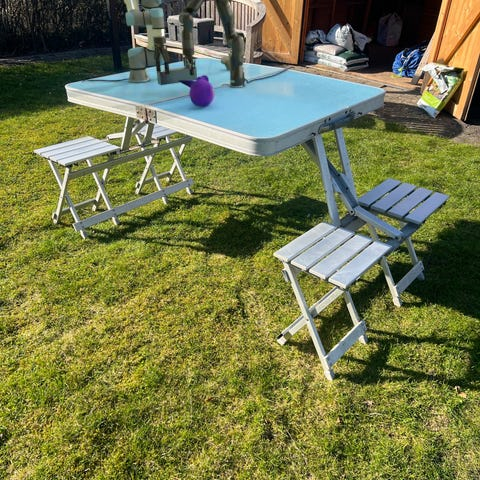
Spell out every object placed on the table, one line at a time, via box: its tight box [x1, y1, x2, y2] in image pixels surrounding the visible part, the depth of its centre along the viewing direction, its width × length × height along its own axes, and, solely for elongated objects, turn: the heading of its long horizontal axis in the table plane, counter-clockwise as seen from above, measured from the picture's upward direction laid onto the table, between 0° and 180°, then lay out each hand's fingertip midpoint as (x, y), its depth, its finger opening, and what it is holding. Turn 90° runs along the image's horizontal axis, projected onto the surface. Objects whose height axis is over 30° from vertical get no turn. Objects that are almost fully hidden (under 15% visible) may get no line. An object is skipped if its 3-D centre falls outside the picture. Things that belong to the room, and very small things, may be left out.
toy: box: [179, 74, 216, 108], centre depth 268 cm, size 16×18×27 cm
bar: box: [156, 66, 198, 86], centre depth 292 cm, size 26×5×8 cm, turn 122°
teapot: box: [220, 49, 245, 71], centre depth 370 cm, size 21×12×15 cm, turn 120°
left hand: (163, 73), depth 286 cm, fingers open, 13 cm apart
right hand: (190, 74), depth 297 cm, fingers closed on bar, 5 cm apart
